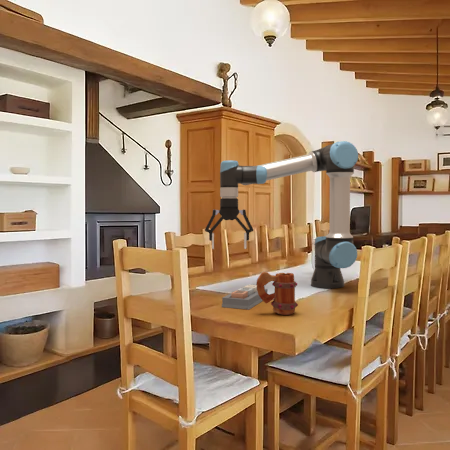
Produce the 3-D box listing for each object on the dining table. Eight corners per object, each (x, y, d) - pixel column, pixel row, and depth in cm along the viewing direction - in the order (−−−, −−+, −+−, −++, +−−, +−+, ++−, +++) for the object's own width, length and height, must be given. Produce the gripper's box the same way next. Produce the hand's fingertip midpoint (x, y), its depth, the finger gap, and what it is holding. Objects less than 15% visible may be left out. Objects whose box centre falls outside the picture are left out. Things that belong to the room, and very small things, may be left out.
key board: (267, 297, 189) (267, 288, 188) (248, 309, 168) (248, 299, 168) (243, 295, 193) (243, 287, 193) (221, 307, 173) (221, 297, 173)
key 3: (247, 297, 176) (247, 291, 176) (243, 300, 172) (243, 293, 171) (236, 296, 178) (236, 290, 178) (231, 299, 173) (231, 292, 173)
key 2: (253, 294, 182) (253, 288, 182) (249, 297, 177) (249, 290, 177) (242, 293, 184) (242, 287, 184) (237, 296, 179) (237, 289, 179)
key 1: (259, 291, 188) (259, 285, 188) (255, 293, 183) (255, 287, 183) (248, 290, 190) (248, 284, 190) (243, 292, 185) (243, 286, 185)
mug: (295, 310, 166) (295, 269, 166) (300, 316, 158) (300, 273, 157) (255, 311, 166) (255, 270, 165) (257, 317, 158) (257, 273, 157)
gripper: (257, 198, 195) (257, 247, 196) (199, 197, 194) (199, 247, 195) (260, 197, 188) (259, 249, 189) (199, 197, 187) (199, 249, 188)
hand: (229, 248), depth 192 cm, fingers open, 13 cm apart
